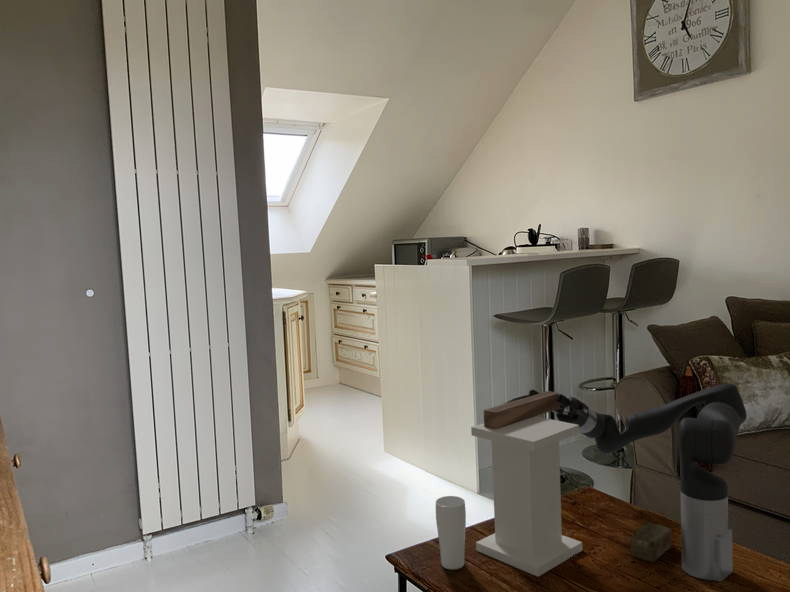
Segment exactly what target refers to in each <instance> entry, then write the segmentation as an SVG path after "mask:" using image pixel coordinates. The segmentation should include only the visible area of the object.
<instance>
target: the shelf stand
mask: <svg viewBox="0 0 790 592" xmlns="http://www.w3.org/2000/svg"><path fill="white" fill-rule="evenodd" d="M470 433H471V436H473V437H475V438H476V437H477V438H479V439H480V438H481V439H483V440H488V441H491V458H492V459H491V462H492V464H491V466H492V482H493V483H492V486H493V487H492V489H493V512H494V513H493V514H494V533H492V534H490V535H489V536H488V535H487V536H486V537H484V538H482V539H480V540H478V541H476V542H475V551H476V550H477V552H479V553H482V554H484V555H486V556H489V557H491V558H493V559H496V560H497V561H499V562H502V563H505V564H507V565H510V566H512V567H514V568H517V569H519V570H521V571H524V572H526V573H528V574H531V575H533V576H536V577H537V578H538V577H540V576H542V575H544V574H545V573H547V572H548V571H550V570H551V569H552V570H553V568H555V567H557V566H559V565H560V564H562V563H564V562H565V561H567V560H569V559H571V558H572V557H574V556H576V555H577V554H579V553H580V552H582V551H583V542H582V541H579V540H578V539H577V540H576V539H575V538H572V537H569V536H565V535H563V532H562V530H563V529H562V499H561V498H562V497H561V492H562V491H561V468H560V467H561V466H560V441H563V440H567V439H569V438H571V437H573V436H576V435H578V434H580V432H579V425H576V424H571V423H567V422H562V421H559V420H558V419H556V420H555V419H552V418H551V419H550V418H546V417H540V416H535V417H532V418H529V419H526V420H523V421H520V422H517V423H514V424H511V425H508V426H505V427H502V428H499V429H491V428H487V427H484V422H483V423H479V424H475V425H473V426H471V431H470ZM575 554H576V555H575ZM573 555H574V556H573ZM570 557H571V558H570Z"/></svg>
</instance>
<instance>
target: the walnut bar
mask: <svg viewBox="0 0 790 592" xmlns="http://www.w3.org/2000/svg"><path fill="white" fill-rule="evenodd" d="M539 393H540V394H536V395H533V396H527V397H523V398H520V399H517V400H514V401H510V402H506V403H502V404H500V405H497V406H493V407H489V408H486V409H484V410H483V423H484V427H487V428H491V429H499V428H502V427H505V426H508V425H511V424H514V423H517V422H520V421H523V420H526V419H529V418H532V417H535V416H537V417H539V416H540V415H543V414H544V415H545V414H547V413H550V412H552V411H553V410H556V409H559V408H560V404H559V403H557V402H556V400H557V396H558V394H560V392H556V391H550V390H547V391H543V392H539Z"/></svg>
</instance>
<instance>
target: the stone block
mask: <svg viewBox="0 0 790 592" xmlns="http://www.w3.org/2000/svg"><path fill="white" fill-rule="evenodd" d="M629 540H630V551H631V556H633V557H635V558H637V559H640V560H642V561H645V562H650V563H655V562H656V561H657V560H658V559H660V556H661V557H662V555H663V554H665V553H666V552H667V551H668V550H670V548H671V547H672V545H673V544H672V529H671V528H670V527H667V526H664V525H660V524H656V523H653V522H650V521H649V522H647V524H645V525H642V526H641V528H639V529H638V530H637V531H636V532H635V533H634V534H633V535H631V536H630V539H629ZM665 551H666V552H665Z"/></svg>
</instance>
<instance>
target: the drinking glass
mask: <svg viewBox="0 0 790 592" xmlns="http://www.w3.org/2000/svg"><path fill="white" fill-rule="evenodd" d="M466 514H467V511H466V503H465V499H464V498H462V497H459V496H455V495H447V496H442V497H439V498H437V499H436V500H435V520H436V521H435V522H436V529H437V537H438V544H439V552H440V563H441V566H442V568H444V569H447V570H451V571H452V570H453V571H454V570H455V571H456V570H459V569H461V568H463V567H464V565H465V547H466V546H465V545H466V523H467V521H466V519H467V518H466V517H467V516H466Z"/></svg>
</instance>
